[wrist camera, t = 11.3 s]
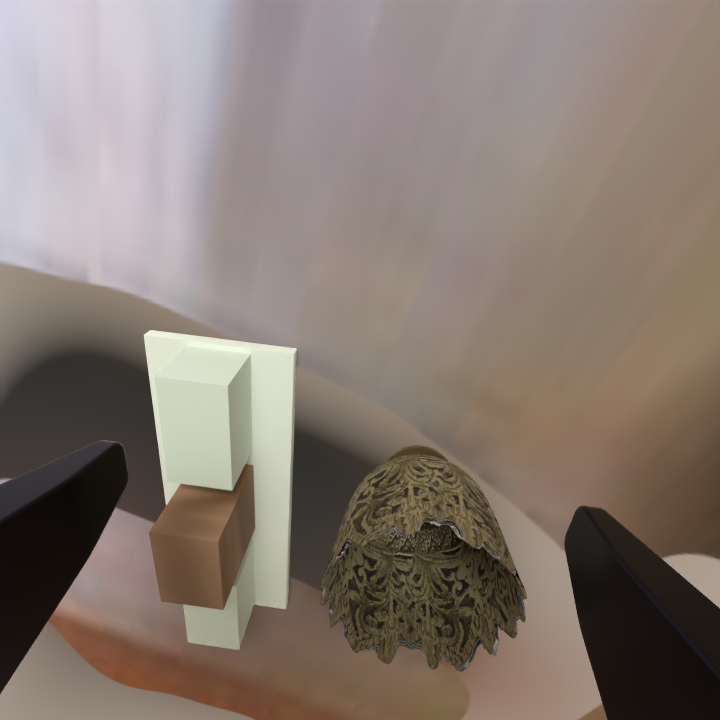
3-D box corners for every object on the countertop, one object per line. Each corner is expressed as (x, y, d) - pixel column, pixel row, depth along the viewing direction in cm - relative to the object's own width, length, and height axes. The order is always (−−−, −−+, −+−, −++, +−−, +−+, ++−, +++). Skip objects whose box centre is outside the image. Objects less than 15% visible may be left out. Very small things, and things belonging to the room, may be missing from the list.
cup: (338, 508, 25) (310, 654, 18) (355, 395, 22) (329, 520, 15) (471, 531, 25) (495, 688, 18) (508, 421, 22) (556, 560, 15)
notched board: (296, 348, 21) (277, 386, 18) (288, 600, 29) (273, 658, 26) (150, 330, 21) (105, 364, 18) (181, 584, 30) (154, 639, 26)
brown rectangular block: (253, 465, 24) (218, 541, 19) (255, 527, 26) (223, 610, 21) (197, 457, 24) (149, 532, 19) (203, 520, 26) (161, 601, 21)
